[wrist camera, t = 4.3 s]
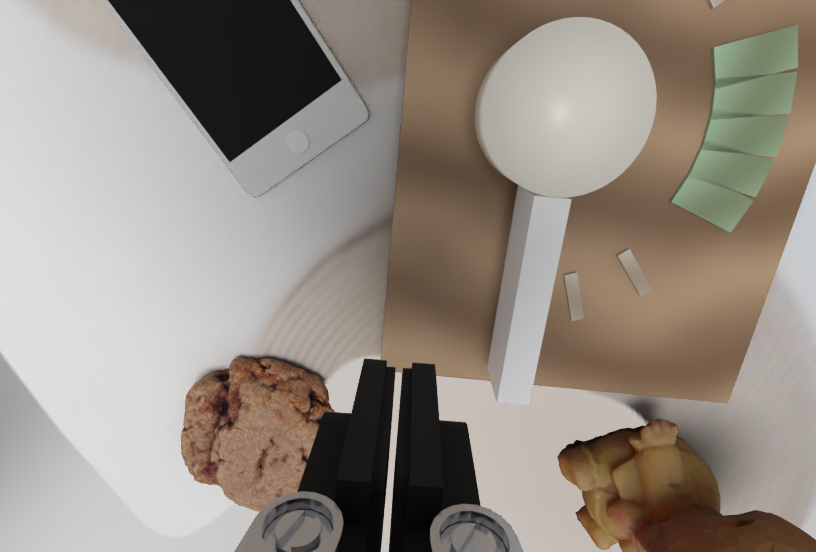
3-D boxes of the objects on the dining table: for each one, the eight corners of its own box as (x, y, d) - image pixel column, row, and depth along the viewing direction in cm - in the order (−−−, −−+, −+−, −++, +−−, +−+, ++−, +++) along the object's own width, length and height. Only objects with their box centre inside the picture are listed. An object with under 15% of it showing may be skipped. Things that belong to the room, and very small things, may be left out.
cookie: (302, 523, 30) (290, 565, 27) (157, 436, 28) (127, 472, 25) (396, 421, 28) (393, 456, 25) (243, 318, 26) (221, 343, 23)
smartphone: (258, 198, 24) (251, 201, 23) (27, -110, 20) (8, -121, 19) (374, 116, 22) (372, 116, 21) (151, -232, 18) (137, -250, 17)
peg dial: (485, 25, 18) (498, 7, 15) (637, 41, 18) (677, 26, 16) (440, 363, 23) (444, 397, 20) (561, 374, 23) (581, 410, 20)
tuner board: (419, -78, 19) (420, -102, 17) (846, -33, 20) (897, -51, 17) (382, 352, 26) (379, 372, 24) (705, 382, 26) (730, 405, 24)
